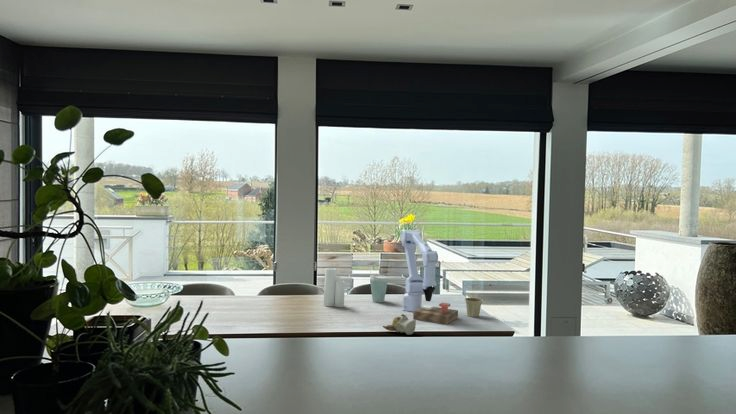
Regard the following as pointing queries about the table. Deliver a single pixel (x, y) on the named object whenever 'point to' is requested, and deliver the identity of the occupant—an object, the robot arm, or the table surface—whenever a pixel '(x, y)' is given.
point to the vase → (333, 288)
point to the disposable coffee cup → (378, 287)
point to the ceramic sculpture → (402, 325)
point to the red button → (444, 307)
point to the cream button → (427, 307)
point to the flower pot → (473, 306)
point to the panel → (435, 315)
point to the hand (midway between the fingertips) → (428, 301)
